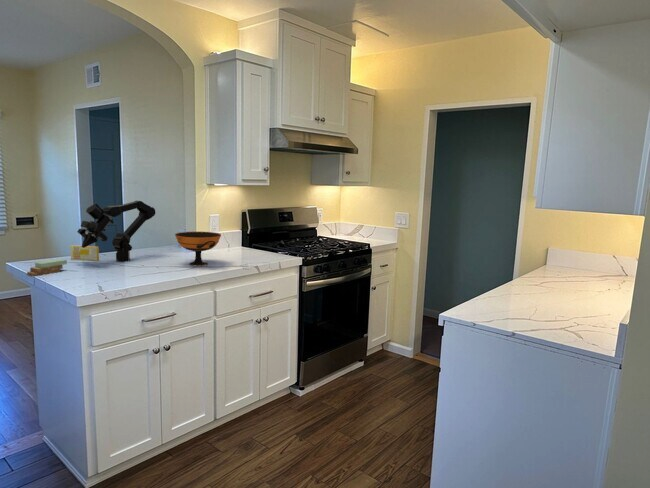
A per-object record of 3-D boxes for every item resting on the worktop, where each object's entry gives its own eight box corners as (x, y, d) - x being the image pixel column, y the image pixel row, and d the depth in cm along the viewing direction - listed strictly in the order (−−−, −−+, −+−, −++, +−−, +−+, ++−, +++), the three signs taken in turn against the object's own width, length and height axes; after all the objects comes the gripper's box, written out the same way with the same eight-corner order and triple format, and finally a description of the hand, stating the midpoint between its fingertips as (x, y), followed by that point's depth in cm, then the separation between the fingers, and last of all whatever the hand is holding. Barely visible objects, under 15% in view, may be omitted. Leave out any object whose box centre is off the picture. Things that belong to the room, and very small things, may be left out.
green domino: (60, 259, 234) (34, 262, 222) (66, 260, 232) (41, 263, 220) (60, 262, 234) (35, 266, 223) (66, 264, 232) (41, 267, 220)
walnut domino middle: (56, 263, 232) (30, 267, 220) (62, 264, 229) (36, 268, 218) (56, 267, 232) (30, 271, 220) (62, 268, 230) (36, 273, 218)
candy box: (99, 260, 261) (99, 246, 260) (97, 261, 259) (96, 247, 257) (73, 258, 262) (72, 244, 261) (70, 259, 260) (70, 245, 259)
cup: (165, 260, 268) (165, 231, 266) (206, 257, 284) (206, 229, 281) (188, 272, 240) (188, 239, 238) (232, 268, 256) (232, 237, 253)
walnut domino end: (54, 267, 231) (27, 272, 219) (59, 269, 228) (32, 273, 217) (54, 271, 231) (27, 276, 220) (60, 273, 228) (33, 277, 217)
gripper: (79, 213, 247) (60, 236, 239) (101, 216, 238) (82, 239, 230) (93, 226, 255) (76, 248, 247) (115, 229, 246) (97, 252, 238)
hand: (82, 247), depth 241 cm, fingers closed
